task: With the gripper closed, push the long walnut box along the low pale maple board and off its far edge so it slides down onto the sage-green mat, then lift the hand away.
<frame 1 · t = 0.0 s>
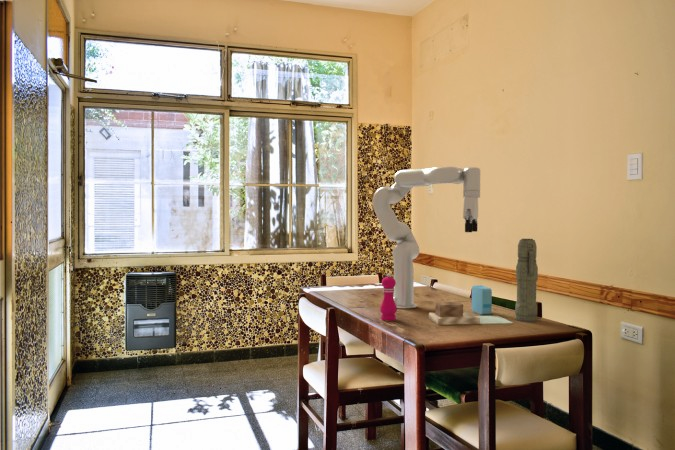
hand: (471, 231, 250), 37 cm above the table, tool pointing down, fingers open, 9 cm apart
data package: (481, 313, 251), on the table
pepper mill: (388, 319, 235), on the table
stone moai statue: (526, 320, 235), on the table
board: (453, 321, 232), on the table
walnut box: (449, 315, 232), point 2 cm above the table, touching board
mat: (489, 320, 234), on the table
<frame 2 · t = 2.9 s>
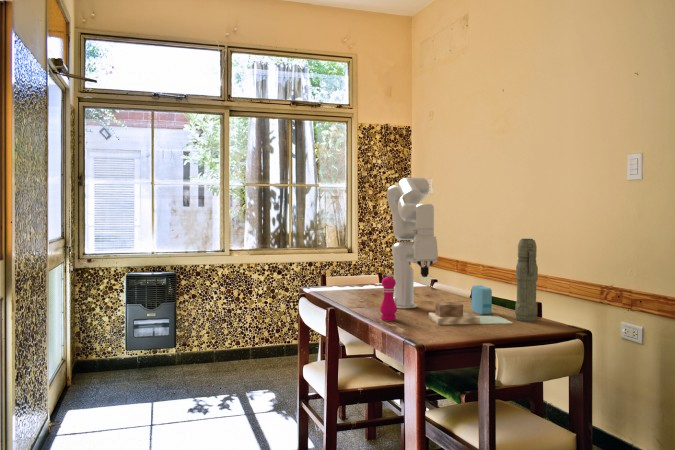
hand: (424, 276, 230), 19 cm above the table, tool pointing down, fingers closed
nothing on the table moved.
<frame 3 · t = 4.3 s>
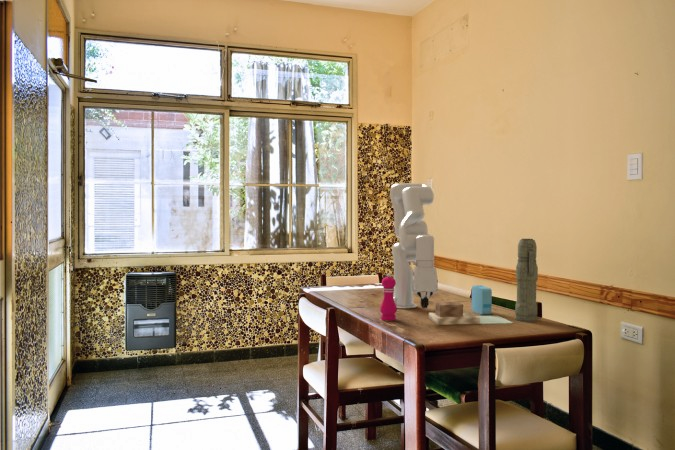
hand: (424, 307, 231), 6 cm above the table, tool pointing down, fingers closed
nothing on the table moved.
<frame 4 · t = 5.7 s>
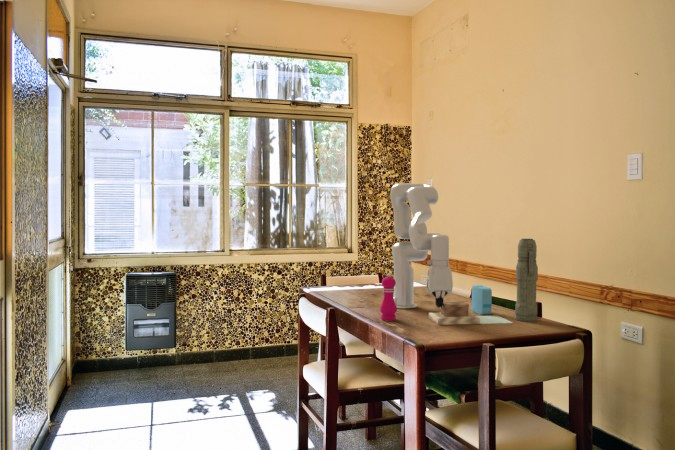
hand: (439, 306, 231), 6 cm above the table, tool pointing down, fingers closed
walnut box: (454, 315, 232), point 3 cm above the table, touching gripper
everything else where it was.
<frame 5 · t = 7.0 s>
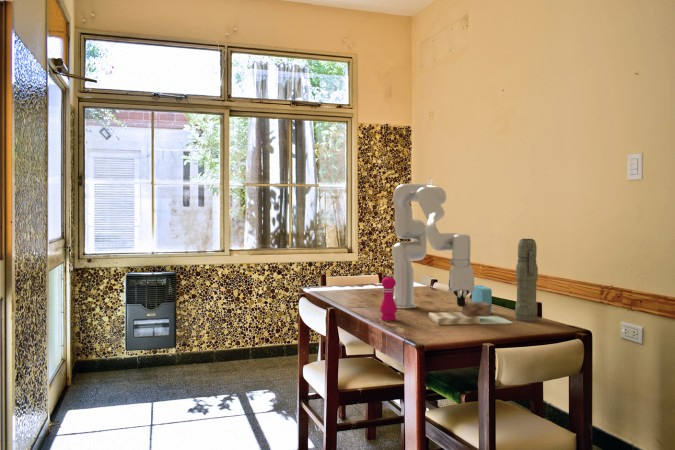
hand: (460, 306, 232), 6 cm above the table, tool pointing down, fingers closed
walnut box: (475, 314, 233), point 2 cm above the table, touching board, gripper
everything else where it was.
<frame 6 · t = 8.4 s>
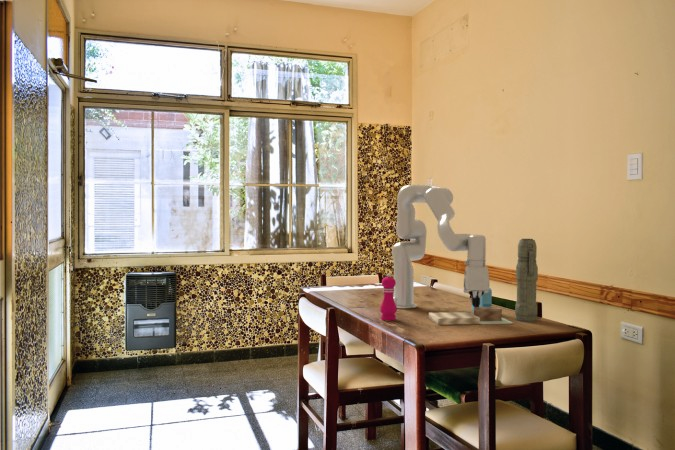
hand: (475, 306, 233), 6 cm above the table, tool pointing down, fingers closed
walnut box: (487, 319, 234), resting on mat
everything else where it was.
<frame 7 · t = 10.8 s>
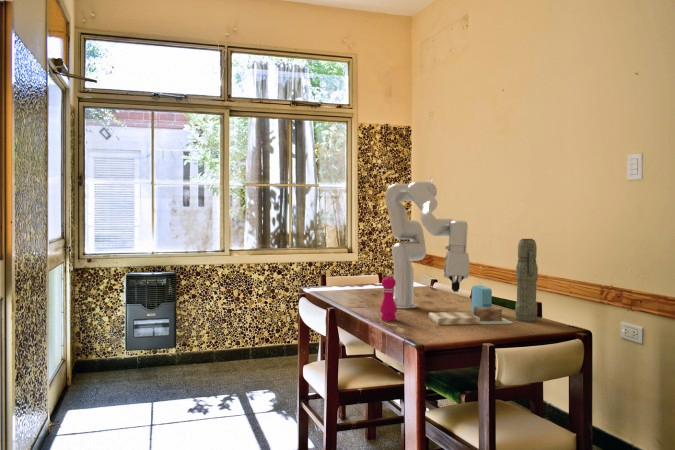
hand: (455, 291, 237), 12 cm above the table, tool pointing down, fingers closed
nothing on the table moved.
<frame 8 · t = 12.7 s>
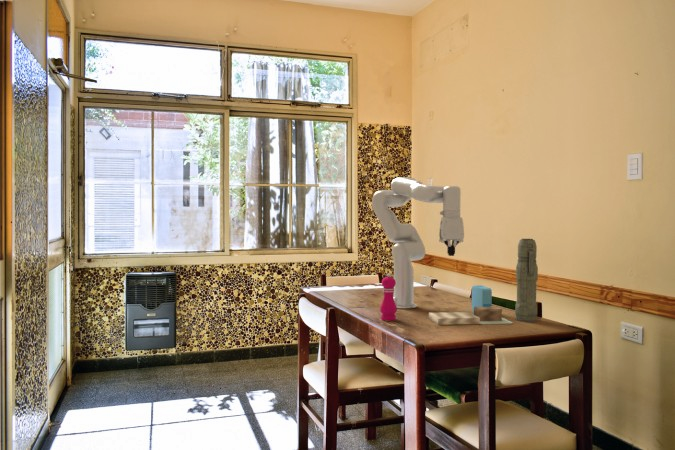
hand: (451, 255, 242), 27 cm above the table, tool pointing down, fingers closed
nothing on the table moved.
at the end: walnut box resting on mat; walnut box inside the target area on the mat (1.2 cm from its centre), point 0.4 cm above the mat's base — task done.
